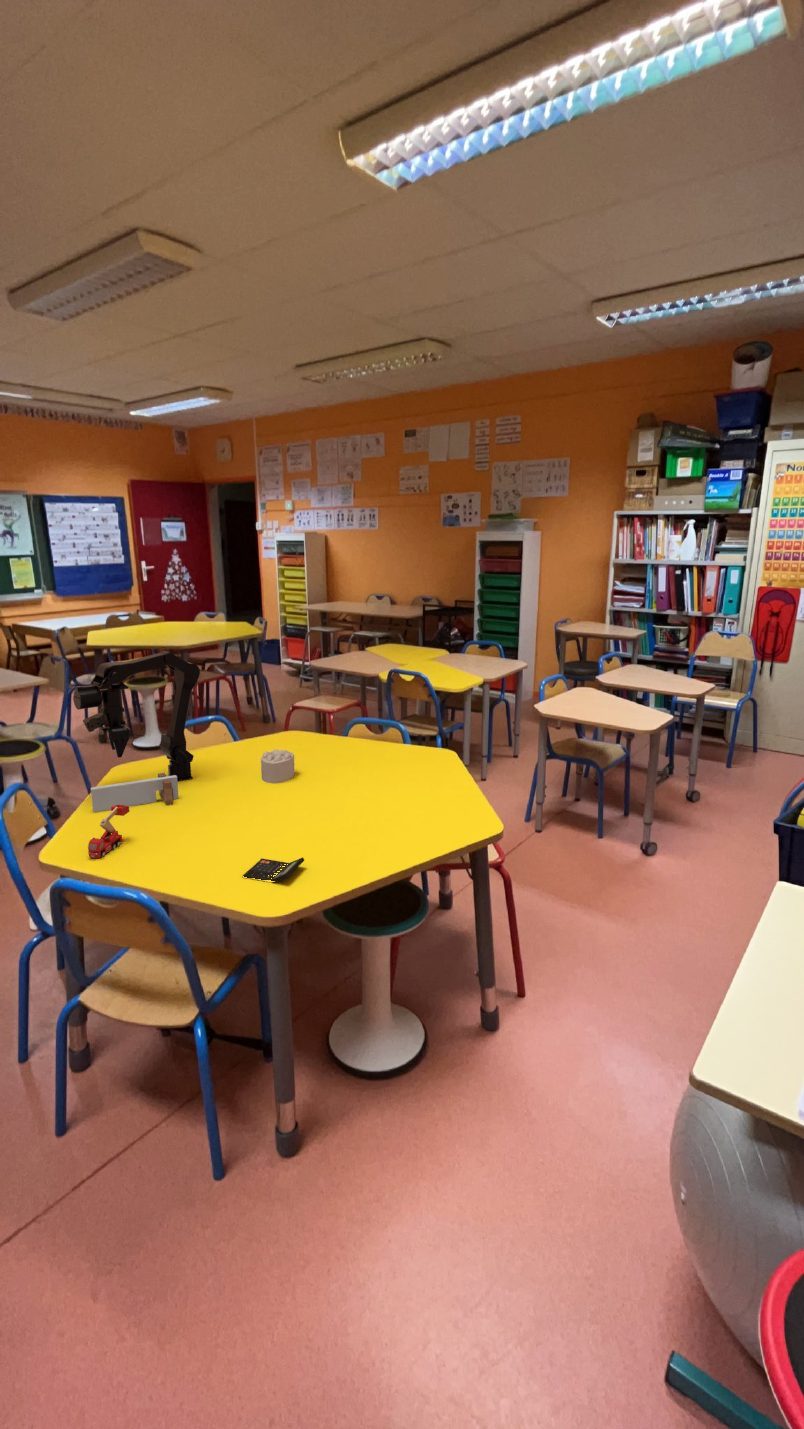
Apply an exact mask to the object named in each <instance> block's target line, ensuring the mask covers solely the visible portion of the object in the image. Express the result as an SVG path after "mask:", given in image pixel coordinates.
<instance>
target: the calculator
mask: <svg viewBox="0 0 804 1429" xmlns="http://www.w3.org/2000/svg"><path fill="white" fill-rule="evenodd" d="M303 862H305V859H304V857H300V858H298V859H296V860H293V861H290V862H285V861H280V860H273V859H268V858H260V860H259V861H257V862H256V863H255V864H253V865H252V866H251V868H249V869H248V870H246V872H245V873H243V875H242V877H243V876H244V877H247V878H255V879H261V880H271V881H278V882H280V881H283V880H285V879H288V878H289V877H290V876H291V875H293V873H294V872H295V870H297V869H298V868H299V867H300V866H301V865H302V863H303ZM284 864H286V865H284ZM287 864H288V865H287ZM280 866H281V867H280ZM282 866H285V867H282ZM280 869H282V870H280ZM277 871H280V872H277ZM274 873H278V874H277V875H276V874H274ZM268 875H269V876H268ZM271 875H272V876H271ZM273 875H276V876H274V877H273ZM247 878H246V879H247ZM271 878H272V879H271Z"/></svg>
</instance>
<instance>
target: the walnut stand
mask: <svg viewBox="0 0 804 1429" xmlns="http://www.w3.org/2000/svg"><path fill="white" fill-rule="evenodd" d="M166 776H168V775H167V774H166V773H165V772H160V773H157V778H160V777H166ZM158 792H159V793H158V794H159V796H160V798H161V800H162V799H163V800H162V801H163V803H164V804H165V806H170V804H171V805H173V804H174V799H173V797H172V782H171V781H170V779H168V780H163V790H158Z"/></svg>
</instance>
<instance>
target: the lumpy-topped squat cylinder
mask: <svg viewBox="0 0 804 1429" xmlns="http://www.w3.org/2000/svg"><path fill="white" fill-rule="evenodd" d="M260 766H261V767H260V770H261V772H260V773H261V774H260V776H261V780H262V781H263V782H265V783H267V784H281V783H285V782H287V781H290V780H292V778H293V777H294V776H295V773H296V772H295V753H294V752H291V751H288V750H287V749H273V750H271V751H264V752H263V753H262V756H261V758H260Z"/></svg>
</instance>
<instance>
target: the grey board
mask: <svg viewBox="0 0 804 1429" xmlns="http://www.w3.org/2000/svg"><path fill="white" fill-rule="evenodd" d="M168 779H170V781H171V782H172V797H173V800H178V799H179V785H178V784H179V783H178V782H179V781H177V776H176V775H173V776H169V775H167V776H166V777H160V778H158V777H155V778H154V777H153V778H147V779H139V780H133V781H127V782H120V783H114V784H107V785H106V784H105V785H100V786H93V787H90V794H91V806H92V812H93V813H98V811H99V812H104V811H105V812H106V811H111V806H115V805H126V806H130V807H135V806H140V804H142V805H146V804H152V803H154V804H155V803H157V791H158V792H159V790H163V780H168Z"/></svg>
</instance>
